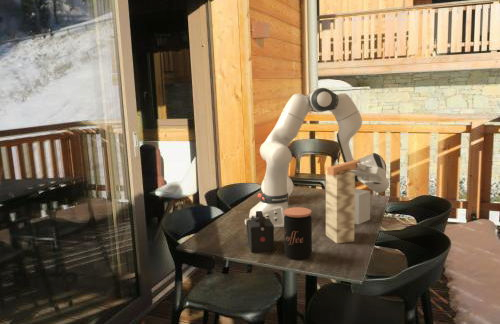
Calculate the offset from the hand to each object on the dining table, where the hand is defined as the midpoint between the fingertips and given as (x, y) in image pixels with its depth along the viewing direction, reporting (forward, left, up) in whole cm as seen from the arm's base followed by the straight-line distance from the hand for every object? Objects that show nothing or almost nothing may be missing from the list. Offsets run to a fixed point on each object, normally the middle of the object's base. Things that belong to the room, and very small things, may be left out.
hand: (353, 164), depth 197 cm
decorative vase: (-16, +58, -31) cm, 68 cm away
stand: (-9, -5, -31) cm, 32 cm away
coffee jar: (-32, -17, -31) cm, 48 cm away
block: (-6, -3, -2) cm, 7 cm away
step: (+9, +16, -31) cm, 36 cm away
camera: (-43, -3, -31) cm, 53 cm away
